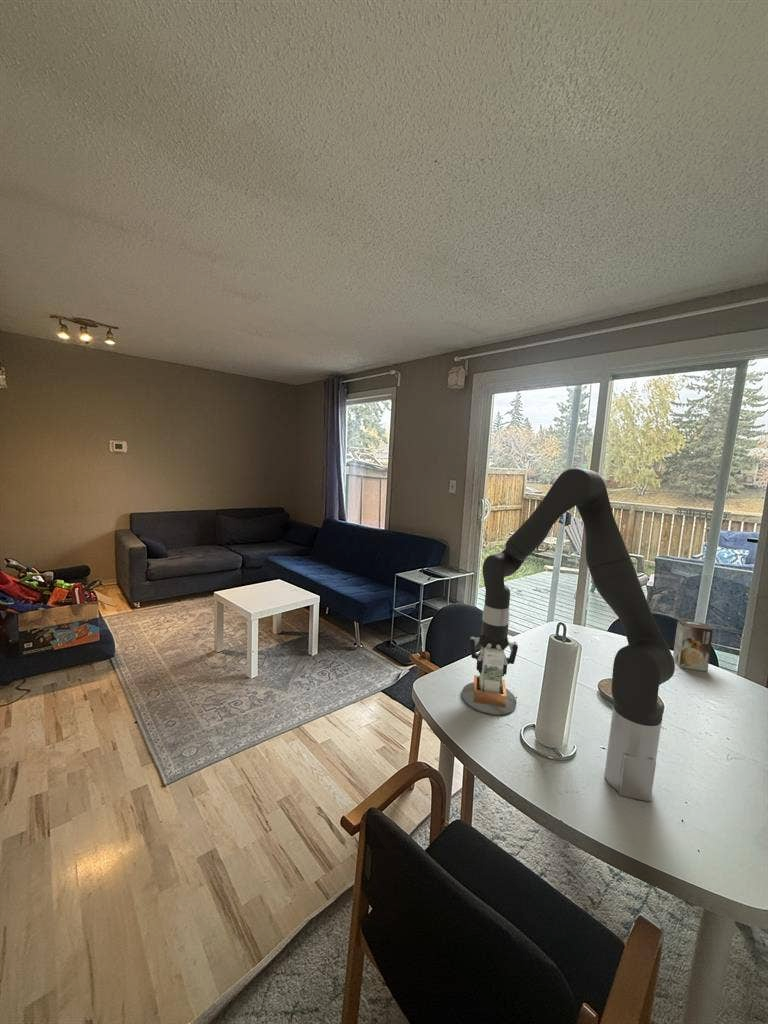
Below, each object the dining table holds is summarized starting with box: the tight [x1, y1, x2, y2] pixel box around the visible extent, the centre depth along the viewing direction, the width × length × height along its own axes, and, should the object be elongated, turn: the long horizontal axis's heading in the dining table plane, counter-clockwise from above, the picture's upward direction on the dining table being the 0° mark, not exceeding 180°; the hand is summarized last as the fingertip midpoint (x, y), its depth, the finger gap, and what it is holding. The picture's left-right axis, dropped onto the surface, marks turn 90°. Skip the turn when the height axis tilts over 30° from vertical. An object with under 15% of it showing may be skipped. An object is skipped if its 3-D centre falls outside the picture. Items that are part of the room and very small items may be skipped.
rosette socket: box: [461, 674, 517, 717], centre depth 123 cm, size 16×16×4 cm
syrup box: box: [479, 645, 506, 694], centre depth 122 cm, size 6×6×14 cm
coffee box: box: [672, 619, 714, 672], centre depth 150 cm, size 9×6×16 cm
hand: (491, 673), depth 122 cm, fingers closed on syrup box, 6 cm apart
